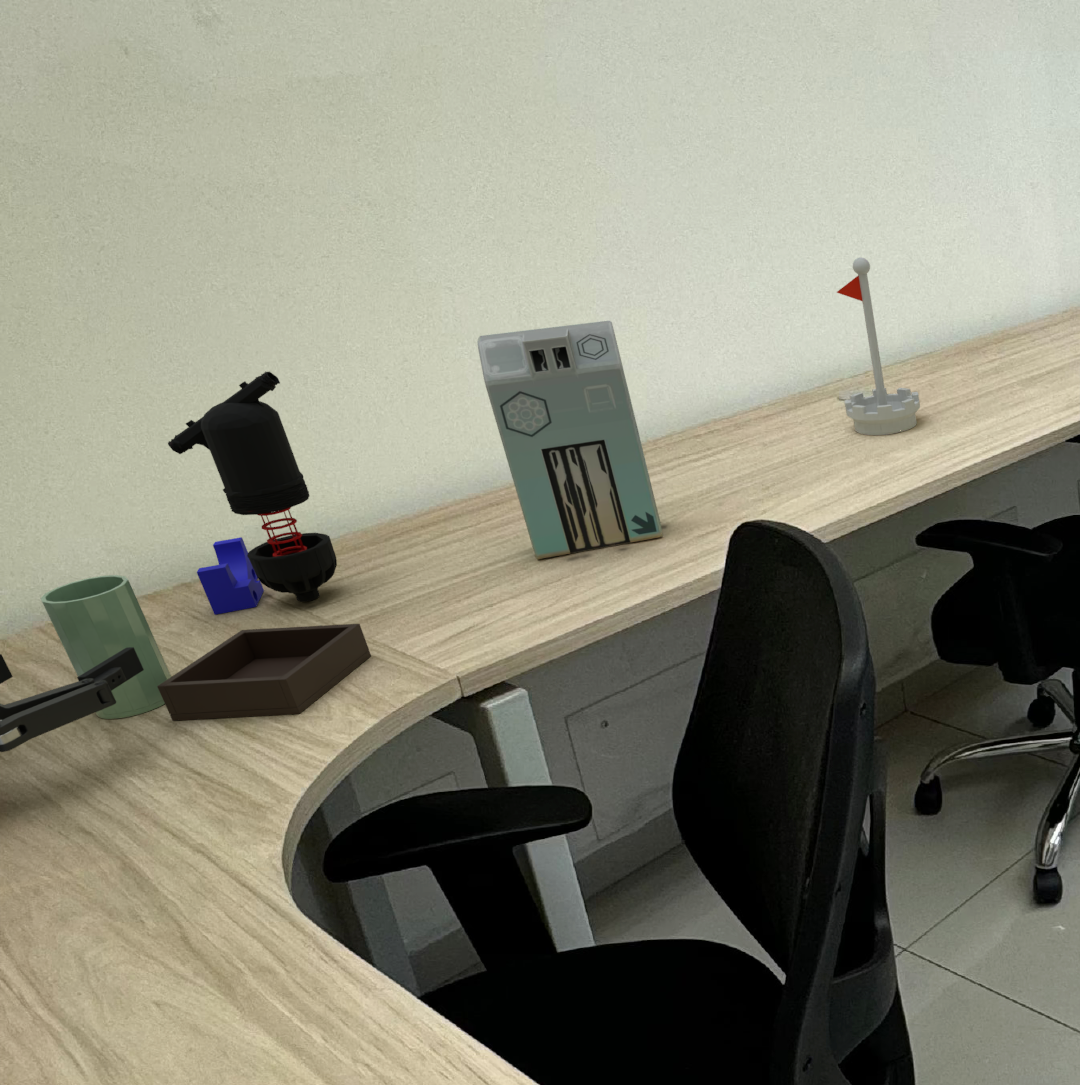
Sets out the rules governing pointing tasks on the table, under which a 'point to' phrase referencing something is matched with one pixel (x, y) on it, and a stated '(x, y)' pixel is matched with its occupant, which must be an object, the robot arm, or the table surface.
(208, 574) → the blue block
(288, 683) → the tray
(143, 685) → the green pipe segment
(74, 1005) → the table surface
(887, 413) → the flag stand
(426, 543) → the table surface
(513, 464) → the device
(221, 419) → the filter
